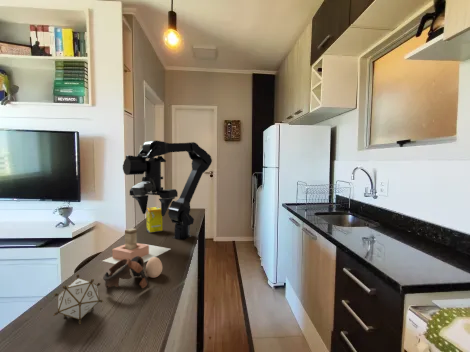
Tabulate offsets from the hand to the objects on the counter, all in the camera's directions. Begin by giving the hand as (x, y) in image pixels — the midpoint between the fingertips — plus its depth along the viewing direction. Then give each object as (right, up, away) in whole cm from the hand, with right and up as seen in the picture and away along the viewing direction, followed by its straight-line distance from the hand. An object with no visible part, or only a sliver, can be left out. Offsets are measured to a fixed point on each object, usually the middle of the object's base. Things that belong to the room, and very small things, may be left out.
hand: (153, 214), depth 93 cm
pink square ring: (-4, -12, -11) cm, 17 cm away
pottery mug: (+4, -14, -29) cm, 33 cm away
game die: (-1, -15, -42) cm, 45 cm away
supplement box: (-6, -11, +20) cm, 23 cm away
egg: (+9, -14, -25) cm, 30 cm away
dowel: (-4, -12, -11) cm, 17 cm away
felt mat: (-2, -13, -9) cm, 16 cm away
